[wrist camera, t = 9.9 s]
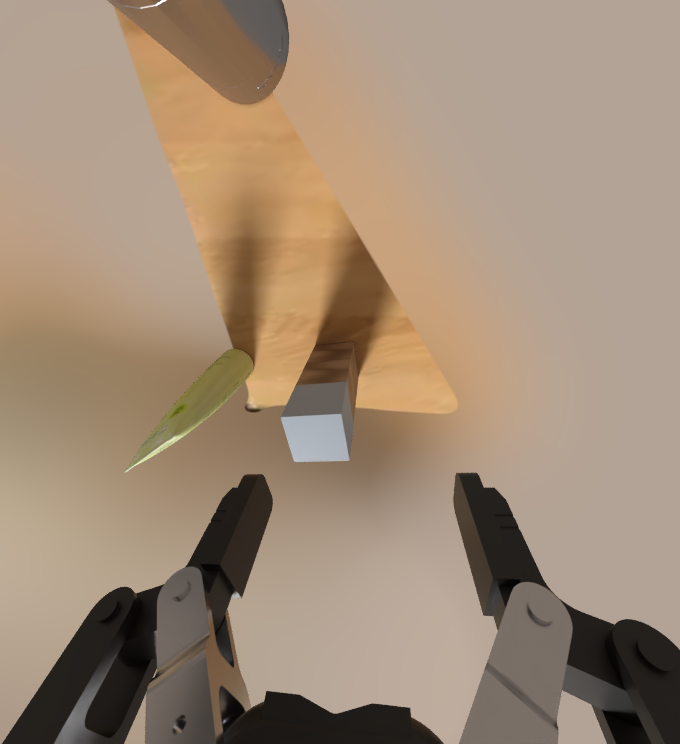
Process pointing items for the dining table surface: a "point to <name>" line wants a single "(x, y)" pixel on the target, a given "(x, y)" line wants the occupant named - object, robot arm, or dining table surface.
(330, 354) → the tower lower
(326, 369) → the tower upper
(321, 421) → the slate block
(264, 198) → the dining table surface
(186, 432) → the tube
